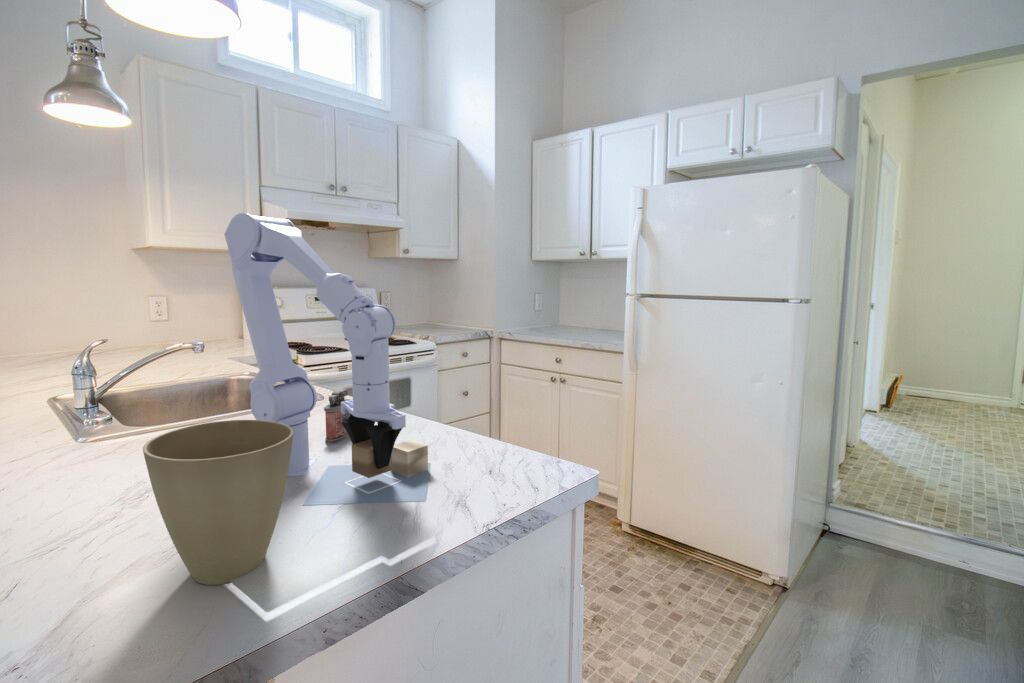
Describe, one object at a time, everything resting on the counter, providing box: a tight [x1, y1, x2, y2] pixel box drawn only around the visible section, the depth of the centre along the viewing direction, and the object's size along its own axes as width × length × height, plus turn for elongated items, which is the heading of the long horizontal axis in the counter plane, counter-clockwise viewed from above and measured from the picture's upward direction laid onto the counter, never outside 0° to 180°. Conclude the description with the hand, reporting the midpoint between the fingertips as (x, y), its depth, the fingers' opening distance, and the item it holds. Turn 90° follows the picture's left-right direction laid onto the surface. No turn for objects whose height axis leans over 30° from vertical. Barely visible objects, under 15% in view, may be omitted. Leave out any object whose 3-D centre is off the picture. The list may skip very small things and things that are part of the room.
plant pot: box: [142, 419, 293, 586], centre depth 60 cm, size 15×15×16 cm
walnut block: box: [351, 439, 392, 478], centre depth 84 cm, size 4×4×4 cm
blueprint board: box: [302, 462, 432, 507], centre depth 85 cm, size 18×16×1 cm
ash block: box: [391, 439, 429, 478], centre depth 90 cm, size 4×4×4 cm
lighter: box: [323, 388, 353, 445], centre depth 109 cm, size 8×3×10 cm, turn 169°
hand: (372, 463), depth 85 cm, fingers closed on walnut block, 4 cm apart
